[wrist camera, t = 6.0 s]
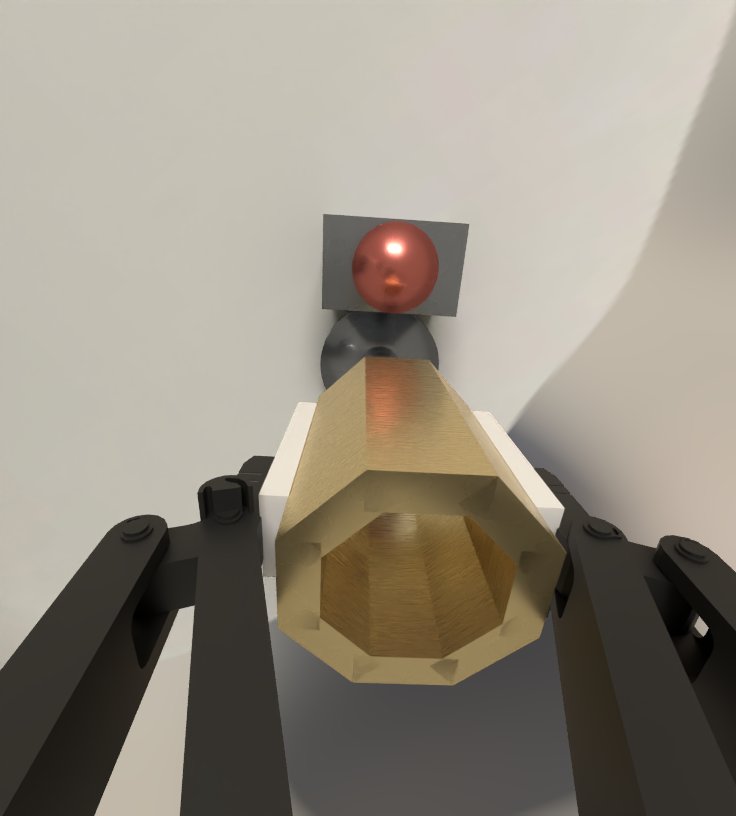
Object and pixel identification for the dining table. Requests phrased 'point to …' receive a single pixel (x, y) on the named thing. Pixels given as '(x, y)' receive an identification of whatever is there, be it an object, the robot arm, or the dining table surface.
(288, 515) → the tan octagonal tube
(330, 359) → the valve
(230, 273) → the dining table surface
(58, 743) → the robot arm
